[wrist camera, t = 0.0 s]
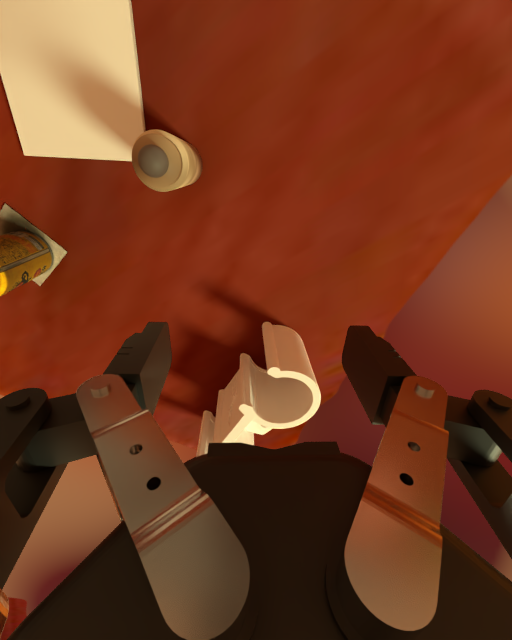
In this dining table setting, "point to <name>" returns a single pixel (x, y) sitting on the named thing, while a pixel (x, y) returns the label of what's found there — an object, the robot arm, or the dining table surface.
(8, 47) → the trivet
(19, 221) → the condiment
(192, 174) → the pepper mill
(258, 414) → the cream triple cylinder
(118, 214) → the dining table surface
